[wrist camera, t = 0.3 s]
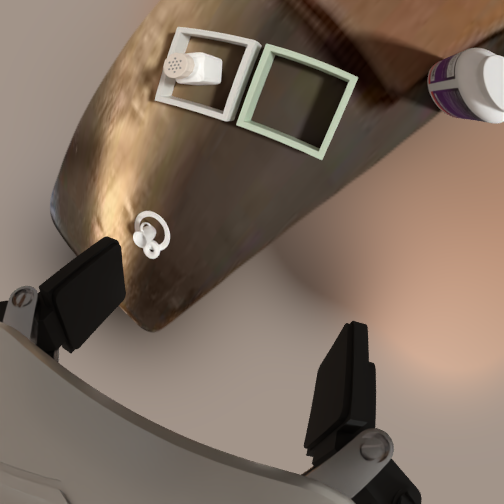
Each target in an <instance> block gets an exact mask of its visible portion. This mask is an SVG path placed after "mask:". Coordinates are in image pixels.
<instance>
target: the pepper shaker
mask: <svg viewBox="0 0 504 504" xmlns="http://www.w3.org/2000/svg"><path fill="white" fill-rule="evenodd" d="M163 69H164V73H165V74H166V75H167V76H168V77H170V78H175V80H176V81H177V83H179V84H190V85H217V84H220V83H221V75H222V60H221V59H219V58H216V57H214V56H211V55H208V54H205V53H202V52H199V53H188V54H183V53H173V54H171V55H169V56H168V57H167V59H166V60H165V62H164V65H163Z"/></svg>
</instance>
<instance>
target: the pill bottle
mask: <svg viewBox="0 0 504 504" xmlns="http://www.w3.org/2000/svg"><path fill="white" fill-rule="evenodd" d="M427 82H428V89H429V93H430V95H431V97H432V99H433V101H434V103H435V104H436V105H437V106H438V108H439V109H441V110H442V111H443V112H444V113H446V114H447V115H450V116H452V117H456V118H462V119H471V120H477V121H483V122H490V123H501V122H504V57H502V56H499V55H495V54H494V53H492V52H490V51H488V50H486V49H482V48H471V49H468V50H465V51H463V52H460V53H458V54H455V55H453V56H451V57H448V58H446V59H444V60H441V61H439V62H437V63H435V64H434V65H433V66H432V67H431V69H430V71H429V74H428V80H427Z"/></svg>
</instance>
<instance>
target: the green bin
mask: <svg viewBox="0 0 504 504" xmlns="http://www.w3.org/2000/svg"><path fill="white" fill-rule="evenodd" d="M275 55H277V56H280V57H283V58H286V59H290V60H293V61H295V62H298V63H301V64H304V65H307V66H309V67H312V68H315V69H317V70H320V71H322V72H325V73H327V74H330V75H332V76H335V77H337V78H339V79H341V80H344V81H346V82H348V85H347V87H346V90H345V92H344V94H343V97H342V99H341V101H340V104H339V106H338V108H337V111H336V113H335V115H334V117H333V120H332V122H331V124H330V127H329V129H328V131H327V134H326V136H325V138H324V140H323V143H322V145H321V147H320V149H319V148H317V147H315V146H313V145H310V144H308V143H306V142H304V141H301V140H299V139H297V138H294V137H292V136H290V135H287V134H285V133H282V132H280V131H277V130H275V129H272V128H270V127H267V126H264V125H262V124H259V123H256V122H254V121H251V118H252V115H253V112H254V109H255V107H256V104H257V101H258V99H259V96H260V93H261V91H262V88H263V85H264V83H265V80H266V78H267V75H268V73H269V70H270V67H271V65H272V62H273V60H274V57H275ZM357 80H358V77H356V76H354V75H352V74H350V73H348V72H345V71H343V70H341V69H338V68H336V67H334V66H331V65H329V64H326V63H324V62H321V61H318V60H316V59H313V58H310V57H308V56H305V55H302V54H299V53H296V52H293V51H290V50H287V49H284V48H280V47H277V46H274V45H270V44H266V46H265V48H264V51H263V53H262V56H261V59H260V61H259V64H258V66H257V69H256V71H255V74H254V77H253V79H252V82H251V85H250V87H249V90H248V93H247V95H246V98H245V101H244V104H243V107H242V109H241V112H240V115H239V118H238V121H237V124H236V125H237V126H240V127H243V128H246V129H248V130H251V131H254V132H256V133H259V134H262V135H264V136H267V137H269V138H272V139H274V140H277V141H279V142H282V143H284V144H286V145H289V146H291V147H293V148H296V149H298V150H300V151H303V152H305V153H307V154H309V155H312V156H314V157H316V158H318V159H320V160H322V159H323V157H324V155H325V153H326V151H327V148H328V146H329V144H330V142H331V139H332V137H333V135H334V133H335V130H336V128H337V126H338V124H339V121H340V119H341V117H342V114H343V112H344V110H345V108H346V105H347V103H348V101H349V98H350V96H351V94H352V91H353V89H354V87H355V84H356V82H357Z"/></svg>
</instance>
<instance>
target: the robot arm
mask: <svg viewBox="0 0 504 504" xmlns="http://www.w3.org/2000/svg"><path fill="white" fill-rule="evenodd" d="M39 289H40V292H39V293H37V290H36V289H35V288H34V287H31V286H23V287H20V288H18V289H17V290H15V291H14V292H13V293H12V294H11V296H10V298H9V301H2V302H0V504H421V494H420V492H419V490H418V489H417V488H416V486H415V485H414V484H413V483H412V482H411V481H410V480H409V478H408V477H407V476H406V475H405V474H404V473H403V471H402V470H401V469H400V468H399V467H398V466H397V464H396V463H395V462H394V461H393V460H392V459H391V457H392V455H393V452H394V446H393V442H392V439H391V438H390V437H389V435H388V434H387V433H386V432H384V431H382V430H380V429H377V428H375V419H376V369H375V365H374V363H372V362H369V352H368V329H367V328H368V327H367V325H366V324H362V323H359V322H355V321H352V322H351V323H350V324H348V323H346V324H345V325H344V327H343V329H342V330H341V332H340V334H339V336H338V338H337V339H336V341H335V342H334V344H333V346H332V348H331V349H330V351H329V352H328V354H327V356H326V357H325V359H324V360H323V362H322V364H321V365H320V367H319V370H318V373H317V379H316V385H315V391H314V397H313V402H312V407H311V413H310V418H309V423H308V428H307V433H306V438H305V442H304V448H307V449H308V450H307V454H306V455H307V456H312V457H313V462H312V464H313V467H311V468H310V469H309V470H307V471H306V472H304V473H303V474H301V475H299V474H296V473H292V472H288V471H285V470H281V469H278V468H274V467H270V466H267V465H263V464H260V463H256V462H253V461H250V460H247V459H244V458H241V457H237V456H235V455H232V454H229V453H226V452H223V451H220V450H217V449H214V448H212V447H209V446H206V445H204V444H201V443H199V442H196V441H194V440H191V439H189V438H186V437H184V436H182V435H180V434H177V433H175V432H173V431H171V430H169V429H167V428H165V427H162V426H160V425H158V424H156V423H154V422H152V421H150V420H148V419H146V418H144V417H142V416H141V415H139V414H137V413H135V412H133V411H131V410H130V409H128V408H126V407H124V406H122V405H121V404H119V403H117V402H115V401H114V400H112V399H111V398H109V397H107V396H106V395H104V394H102V393H101V392H99V391H98V390H96V389H95V388H93V387H92V386H90V385H89V384H87V383H86V382H84V381H83V380H81V379H80V378H78V377H77V376H75V375H74V374H72V373H71V372H70V371H68V370H67V369H66V368H64V367H63V366H62V365H60V364H59V363H58V360H59V359H58V358H59V347H60V346H61V345H62V347H63V348H64V349H65V350H67V351H69V353H72V352H73V351H74V350H75V349H78V348H80V347H81V345H82V344H83V343H84V342H85V341H86V340H87V339H88V338H89V337H90V335H91V334H92V333H93V332H94V331H95V330H96V329H97V328H98V327H99V326H100V325H101V324H102V322H103V321H104V320H105V319H106V318H107V317H108V316H109V315H110V314H111V313H112V312H113V311H114V309H116V307H118V306H119V304H120V303H121V302H122V301H123V300H124V298H125V295H126V291H125V283H124V274H123V264H122V252H121V246H120V245H119V242H118V241H117V240H115V239H112V238H110V237H104V238H102V239H101V240H99V241H98V242H97V243H95V244H94V245H92V246H91V247H90V248H88V249H87V250H85V251H84V252H83V253H81V254H80V255H79V256H77V257H76V258H75V259H73V260H72V261H71V262H69V263H68V264H67V265H65V266H64V267H63V268H61V269H60V270H59V271H58V272H56V273H55V274H54V275H53V276H51V277H50V278H49V279H48V280H46V281H45V282H44V283H43V284H41V285H40V286H39Z"/></svg>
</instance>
